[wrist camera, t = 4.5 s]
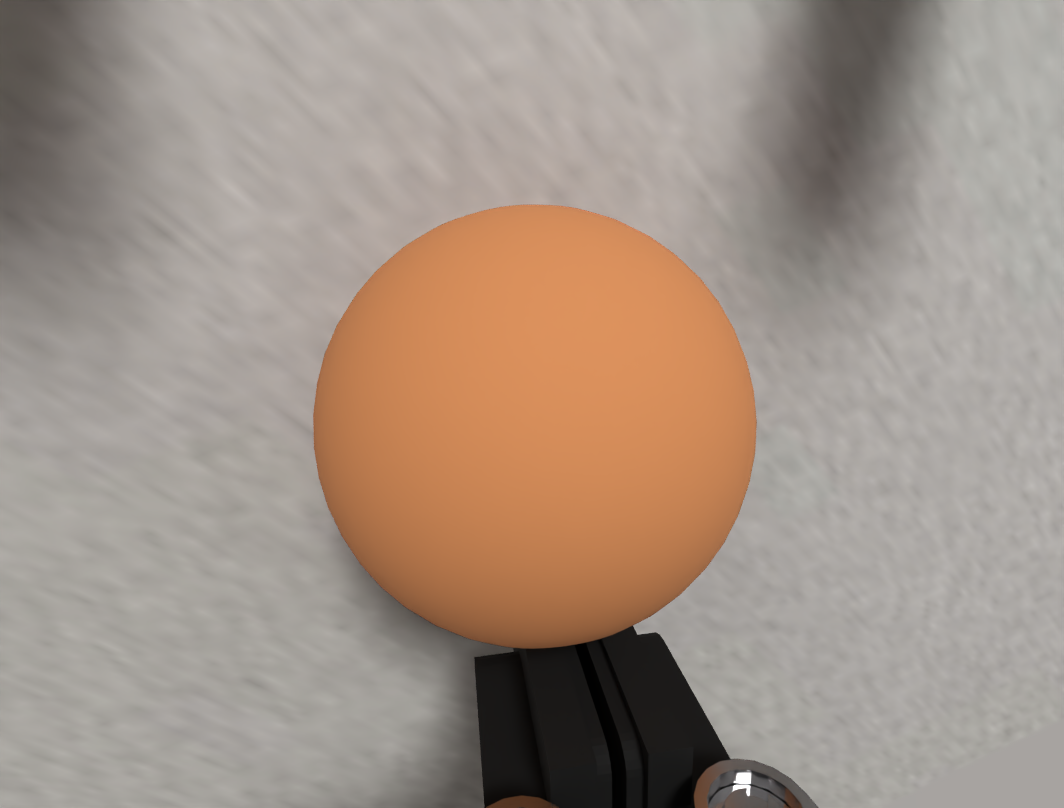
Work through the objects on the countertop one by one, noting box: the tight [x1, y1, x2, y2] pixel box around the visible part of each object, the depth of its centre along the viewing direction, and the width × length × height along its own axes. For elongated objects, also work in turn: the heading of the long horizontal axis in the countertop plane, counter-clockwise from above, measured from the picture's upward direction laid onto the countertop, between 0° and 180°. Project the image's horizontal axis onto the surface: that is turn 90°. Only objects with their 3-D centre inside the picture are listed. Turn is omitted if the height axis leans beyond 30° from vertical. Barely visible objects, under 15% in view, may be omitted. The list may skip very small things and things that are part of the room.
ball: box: [313, 205, 757, 649], centre depth 7 cm, size 6×6×6 cm
